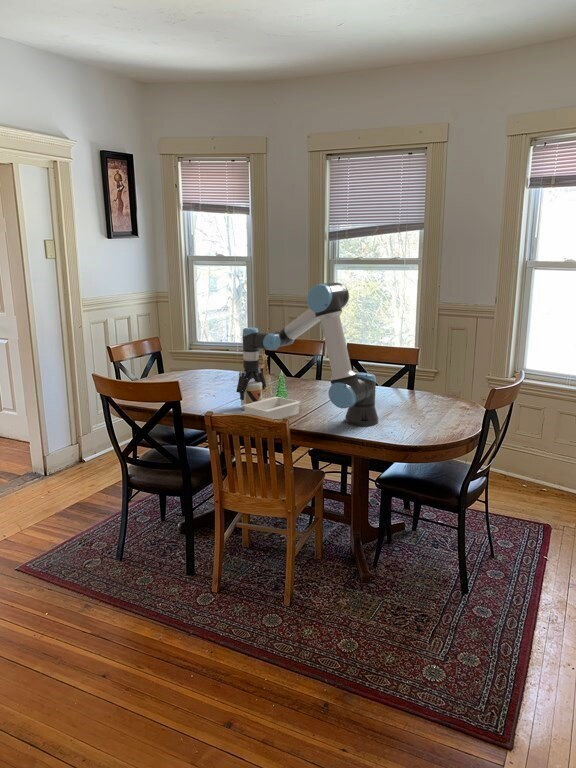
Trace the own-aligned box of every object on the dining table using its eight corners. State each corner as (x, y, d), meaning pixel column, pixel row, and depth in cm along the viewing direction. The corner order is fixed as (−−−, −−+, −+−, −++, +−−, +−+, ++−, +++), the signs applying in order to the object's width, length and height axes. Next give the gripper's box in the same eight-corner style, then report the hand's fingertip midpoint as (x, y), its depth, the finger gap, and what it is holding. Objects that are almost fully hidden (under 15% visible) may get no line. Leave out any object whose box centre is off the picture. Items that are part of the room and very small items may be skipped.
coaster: (267, 409, 284) (267, 407, 283) (251, 413, 276) (251, 412, 276) (252, 405, 291) (252, 404, 291) (236, 409, 283) (236, 408, 283)
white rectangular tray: (276, 408, 285) (276, 396, 284) (301, 414, 274) (301, 402, 272) (242, 417, 269) (241, 405, 267) (267, 424, 257) (267, 411, 256)
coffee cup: (246, 410, 278) (245, 386, 275) (242, 405, 287) (241, 381, 284) (265, 408, 281) (264, 384, 278) (261, 403, 290) (259, 379, 287)
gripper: (262, 355, 289) (263, 398, 293) (227, 362, 272) (229, 407, 277) (273, 357, 284) (273, 400, 288) (238, 363, 267) (239, 409, 272)
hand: (252, 403), depth 283 cm, fingers open, 10 cm apart
